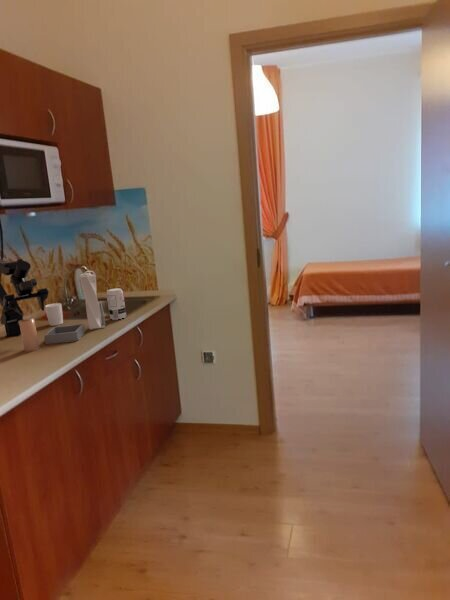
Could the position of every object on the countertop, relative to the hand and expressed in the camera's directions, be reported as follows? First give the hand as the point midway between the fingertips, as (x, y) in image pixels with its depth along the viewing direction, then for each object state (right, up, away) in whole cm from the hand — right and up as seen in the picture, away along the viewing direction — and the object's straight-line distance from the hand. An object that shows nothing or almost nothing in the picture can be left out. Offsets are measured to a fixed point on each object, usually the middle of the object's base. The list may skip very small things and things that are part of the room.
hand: (33, 312), depth 208 cm
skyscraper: (+22, -8, +20) cm, 31 cm away
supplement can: (+30, -4, +35) cm, 46 cm away
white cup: (-2, -7, +36) cm, 37 cm away
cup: (+2, -15, -6) cm, 17 cm away
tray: (+12, -12, +7) cm, 18 cm away
